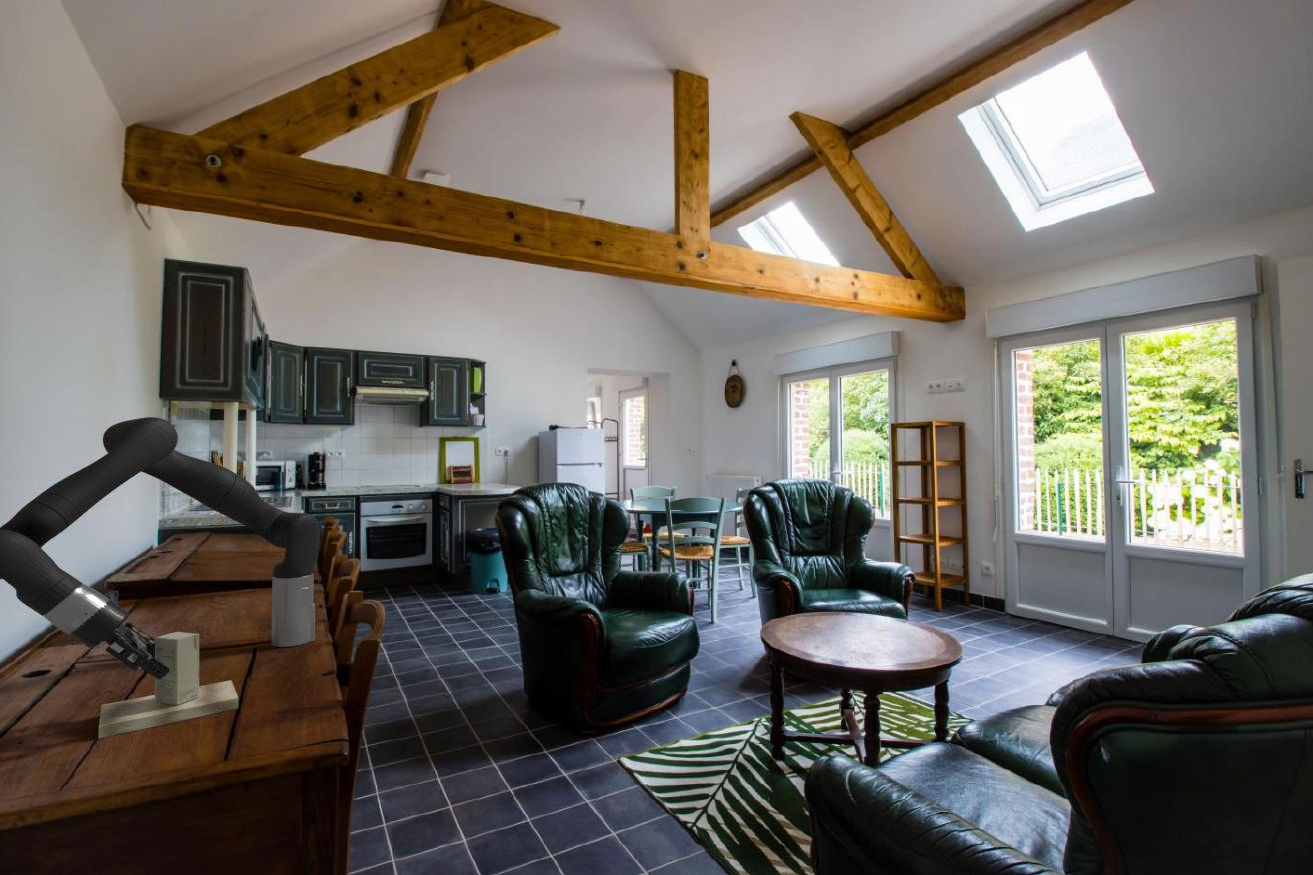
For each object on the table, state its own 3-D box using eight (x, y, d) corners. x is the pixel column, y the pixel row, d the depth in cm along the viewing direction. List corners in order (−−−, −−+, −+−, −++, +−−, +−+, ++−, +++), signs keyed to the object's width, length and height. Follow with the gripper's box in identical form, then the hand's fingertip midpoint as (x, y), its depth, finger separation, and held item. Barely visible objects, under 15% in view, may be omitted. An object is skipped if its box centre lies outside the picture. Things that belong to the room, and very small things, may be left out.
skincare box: (200, 697, 120) (201, 633, 120) (176, 706, 116) (177, 639, 116) (176, 693, 122) (178, 630, 122) (152, 701, 118) (154, 636, 118)
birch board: (230, 689, 129) (231, 680, 129) (238, 708, 120) (238, 697, 120) (101, 715, 116) (101, 704, 116) (98, 738, 107) (98, 726, 107)
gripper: (101, 606, 107) (183, 661, 114) (113, 591, 119) (186, 642, 125) (58, 642, 104) (144, 697, 110) (74, 623, 116) (152, 674, 122)
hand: (167, 668), depth 118 cm, fingers open, 8 cm apart
